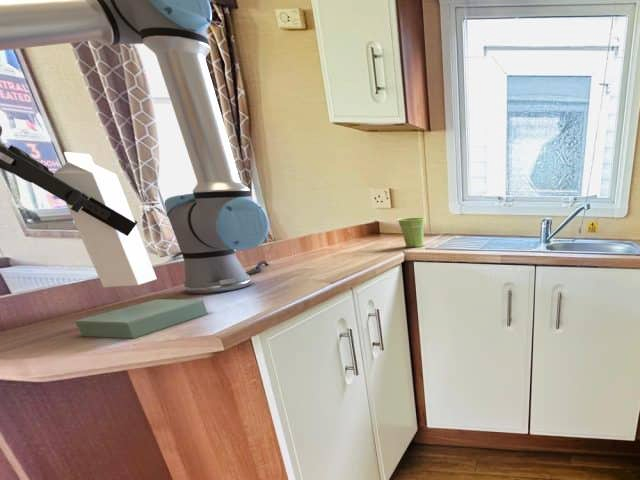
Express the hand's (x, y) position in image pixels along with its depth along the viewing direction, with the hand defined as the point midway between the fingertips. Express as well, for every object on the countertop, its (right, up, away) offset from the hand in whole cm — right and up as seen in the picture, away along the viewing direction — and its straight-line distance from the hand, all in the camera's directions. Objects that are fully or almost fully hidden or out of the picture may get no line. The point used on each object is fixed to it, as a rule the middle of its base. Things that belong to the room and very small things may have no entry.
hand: (132, 228), depth 79 cm
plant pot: (+29, +31, +104) cm, 112 cm away
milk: (-2, -10, +2) cm, 10 cm away
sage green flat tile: (-2, -17, +6) cm, 18 cm away
